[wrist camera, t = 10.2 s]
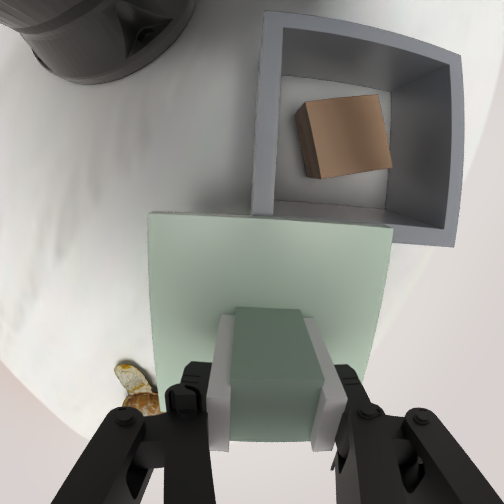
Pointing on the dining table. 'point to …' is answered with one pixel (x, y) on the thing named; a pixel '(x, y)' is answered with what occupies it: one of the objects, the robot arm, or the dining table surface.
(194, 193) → the dining table surface
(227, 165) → the dining table surface
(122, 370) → the fruit
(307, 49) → the storage box
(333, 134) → the block
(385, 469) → the robot arm
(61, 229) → the dining table surface
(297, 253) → the lid
